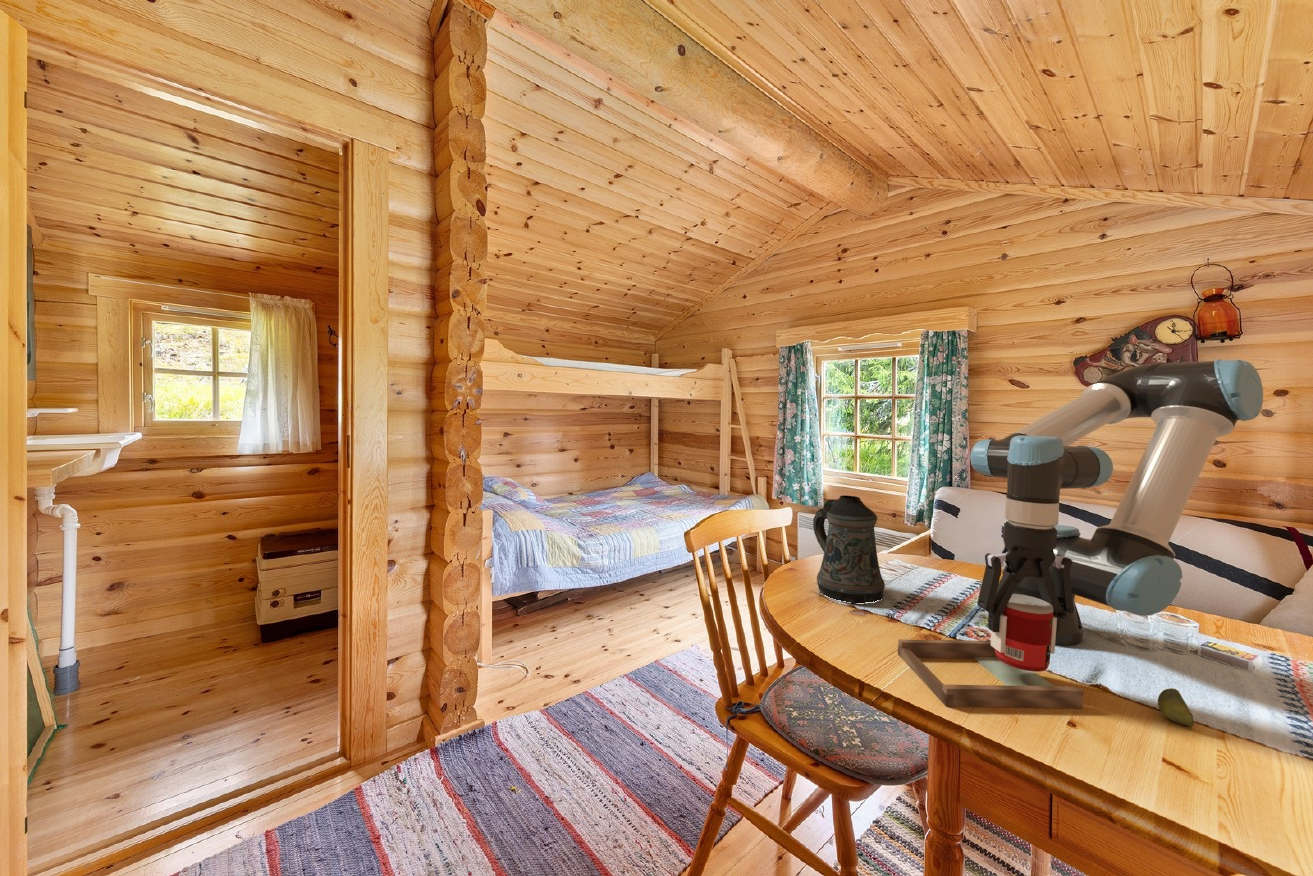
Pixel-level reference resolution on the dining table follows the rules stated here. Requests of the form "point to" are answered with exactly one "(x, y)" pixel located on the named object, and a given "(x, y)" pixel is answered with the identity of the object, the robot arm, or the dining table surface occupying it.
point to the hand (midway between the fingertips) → (1021, 649)
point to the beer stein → (848, 551)
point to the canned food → (1027, 633)
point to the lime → (1175, 707)
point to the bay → (1019, 683)
